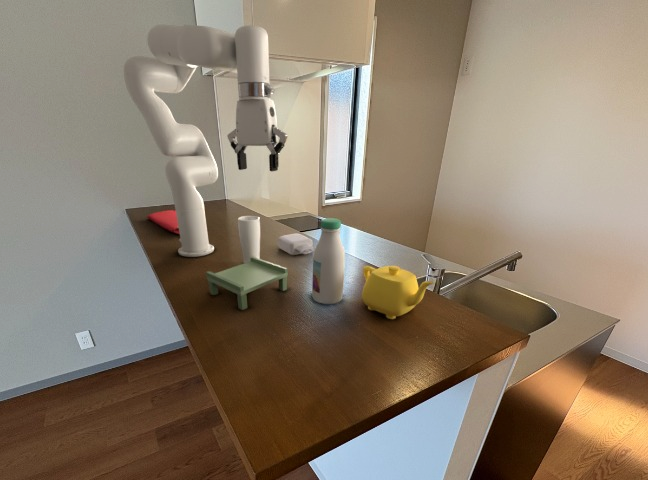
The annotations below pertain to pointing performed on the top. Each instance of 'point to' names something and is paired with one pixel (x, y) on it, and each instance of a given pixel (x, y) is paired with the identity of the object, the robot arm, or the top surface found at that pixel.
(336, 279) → the milk bottle
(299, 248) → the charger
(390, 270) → the teapot
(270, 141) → the robot arm
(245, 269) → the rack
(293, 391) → the top surface
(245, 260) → the drinking glass
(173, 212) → the red flat wedge
